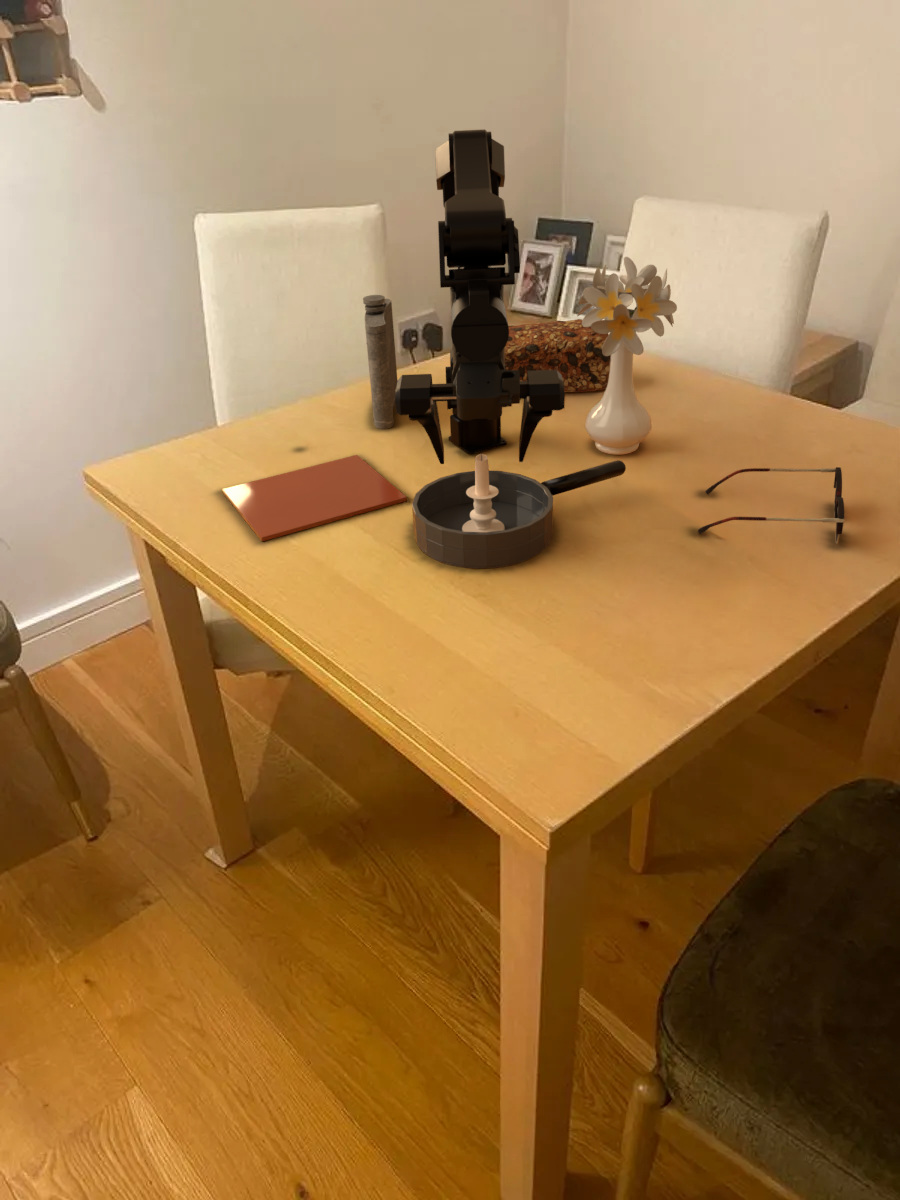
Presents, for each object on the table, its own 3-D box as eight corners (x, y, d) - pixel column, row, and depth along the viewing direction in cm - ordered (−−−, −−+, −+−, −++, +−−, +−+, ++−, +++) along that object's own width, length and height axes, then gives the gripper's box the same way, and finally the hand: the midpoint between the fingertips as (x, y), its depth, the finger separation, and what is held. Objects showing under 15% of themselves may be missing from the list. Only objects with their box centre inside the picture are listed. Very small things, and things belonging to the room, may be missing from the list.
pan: (506, 490, 128) (505, 459, 126) (579, 543, 116) (580, 509, 113) (392, 523, 122) (389, 491, 120) (456, 583, 109) (455, 548, 107)
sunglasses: (840, 554, 111) (845, 515, 109) (696, 546, 116) (697, 509, 113) (837, 500, 122) (841, 464, 120) (705, 495, 127) (707, 460, 124)
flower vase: (580, 477, 131) (587, 290, 117) (568, 424, 146) (573, 253, 133) (678, 474, 130) (695, 285, 117) (655, 421, 146) (669, 249, 132)
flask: (369, 429, 148) (357, 311, 138) (377, 395, 160) (367, 284, 150) (393, 428, 148) (383, 310, 138) (399, 394, 160) (391, 283, 150)
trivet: (357, 458, 139) (356, 454, 139) (407, 501, 127) (406, 496, 127) (222, 493, 131) (221, 489, 131) (261, 541, 119) (261, 537, 119)
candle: (505, 540, 116) (504, 461, 111) (462, 542, 117) (458, 462, 111) (504, 520, 121) (503, 442, 115) (462, 521, 121) (459, 444, 115)
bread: (603, 371, 165) (606, 312, 159) (610, 394, 156) (613, 332, 151) (493, 374, 166) (492, 316, 160) (494, 397, 157) (493, 336, 151)
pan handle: (619, 470, 126) (619, 456, 125) (628, 476, 125) (629, 461, 124) (534, 495, 121) (534, 481, 120) (543, 501, 120) (543, 486, 119)
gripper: (386, 357, 99) (397, 495, 107) (570, 351, 98) (566, 490, 107) (394, 324, 108) (403, 453, 117) (562, 318, 108) (559, 448, 116)
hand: (481, 461), depth 114 cm, fingers open, 9 cm apart
